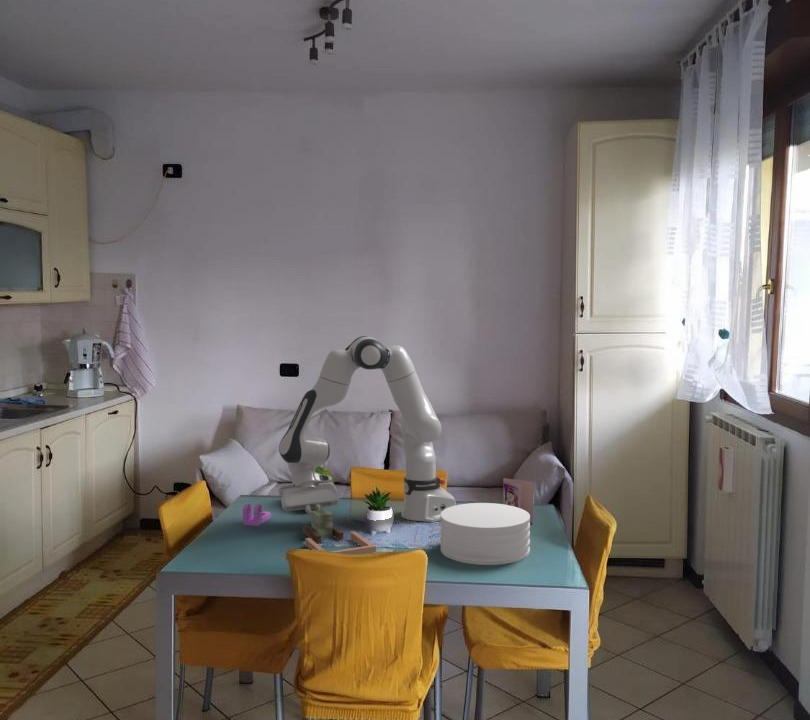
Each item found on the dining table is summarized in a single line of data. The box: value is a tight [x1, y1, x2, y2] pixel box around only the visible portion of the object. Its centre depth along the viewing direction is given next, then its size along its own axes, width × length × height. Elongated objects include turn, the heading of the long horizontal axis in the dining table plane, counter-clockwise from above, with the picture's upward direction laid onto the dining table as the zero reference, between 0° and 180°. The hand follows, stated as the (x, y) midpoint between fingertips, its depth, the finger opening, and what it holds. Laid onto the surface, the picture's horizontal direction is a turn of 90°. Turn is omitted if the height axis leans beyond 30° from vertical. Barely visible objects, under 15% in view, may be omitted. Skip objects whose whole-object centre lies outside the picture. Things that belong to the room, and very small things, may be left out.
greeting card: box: [502, 477, 534, 525], centre depth 278 cm, size 11×7×15 cm, turn 23°
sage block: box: [310, 508, 334, 539], centre depth 264 cm, size 5×7×8 cm
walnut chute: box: [302, 524, 345, 545], centre depth 264 cm, size 9×14×2 cm, turn 26°
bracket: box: [242, 503, 272, 527], centre depth 283 cm, size 13×6×7 cm, turn 165°
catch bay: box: [304, 530, 377, 554], centre depth 250 cm, size 17×18×2 cm
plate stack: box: [439, 502, 531, 566], centre depth 249 cm, size 28×28×12 cm
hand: (315, 517), depth 270 cm, fingers closed
